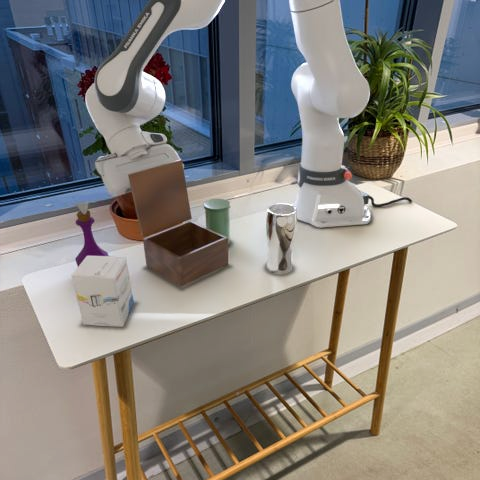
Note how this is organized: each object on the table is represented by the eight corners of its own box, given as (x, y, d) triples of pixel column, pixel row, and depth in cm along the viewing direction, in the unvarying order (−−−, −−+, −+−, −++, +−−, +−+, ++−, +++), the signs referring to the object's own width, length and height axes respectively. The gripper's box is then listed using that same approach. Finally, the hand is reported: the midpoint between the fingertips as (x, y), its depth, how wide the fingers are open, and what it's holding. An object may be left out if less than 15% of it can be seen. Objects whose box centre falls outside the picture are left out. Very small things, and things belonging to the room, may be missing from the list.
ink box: (96, 301, 104) (86, 253, 98) (134, 303, 104) (127, 255, 97) (81, 325, 98) (69, 275, 91) (122, 328, 97) (113, 277, 90)
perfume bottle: (77, 270, 115) (61, 198, 105) (109, 264, 118) (96, 192, 107) (82, 285, 110) (65, 210, 99) (115, 278, 112) (102, 205, 102)
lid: (182, 159, 112) (180, 159, 113) (129, 174, 104) (127, 174, 105) (191, 218, 119) (189, 218, 120) (143, 237, 111) (141, 236, 112)
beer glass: (292, 277, 113) (296, 216, 104) (262, 274, 114) (264, 214, 105) (295, 262, 118) (299, 204, 109) (267, 260, 119) (268, 202, 110)
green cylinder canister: (231, 238, 129) (230, 198, 123) (230, 249, 124) (230, 209, 117) (206, 238, 129) (204, 198, 123) (204, 249, 124) (202, 209, 117)
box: (228, 266, 117) (227, 237, 112) (181, 289, 109) (179, 258, 104) (192, 248, 124) (190, 220, 120) (146, 267, 116) (142, 238, 112)
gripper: (94, 151, 105) (126, 207, 105) (170, 133, 116) (198, 183, 116) (87, 167, 110) (118, 220, 110) (160, 148, 122) (188, 195, 122)
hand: (160, 200), depth 113 cm, fingers closed, pressing on lid
